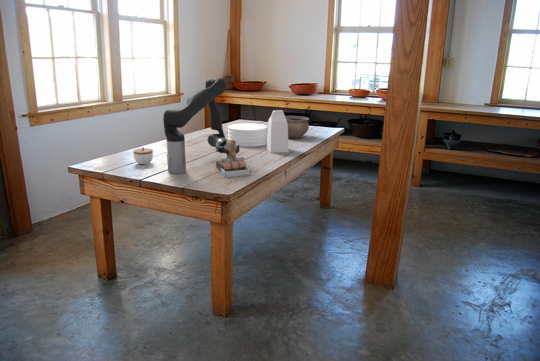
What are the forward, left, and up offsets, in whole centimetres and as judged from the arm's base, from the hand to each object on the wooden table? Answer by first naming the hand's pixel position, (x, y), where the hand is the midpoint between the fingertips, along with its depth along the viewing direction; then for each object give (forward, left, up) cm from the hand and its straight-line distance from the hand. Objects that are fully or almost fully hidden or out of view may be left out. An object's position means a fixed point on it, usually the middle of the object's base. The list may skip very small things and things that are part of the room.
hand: (232, 152), depth 229 cm
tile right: (+4, -2, -7) cm, 9 cm away
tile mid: (0, -2, -7) cm, 8 cm away
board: (0, +5, -11) cm, 12 cm away
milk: (+42, +40, -11) cm, 59 cm away
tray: (0, -5, -11) cm, 12 cm away
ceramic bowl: (+70, +76, -11) cm, 104 cm away
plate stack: (+32, +70, -11) cm, 78 cm away
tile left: (-4, -2, -7) cm, 9 cm away
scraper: (0, +3, -6) cm, 7 cm away
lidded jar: (-43, +34, -11) cm, 56 cm away
